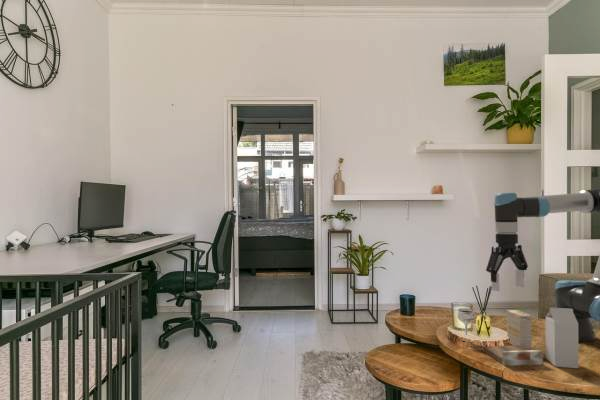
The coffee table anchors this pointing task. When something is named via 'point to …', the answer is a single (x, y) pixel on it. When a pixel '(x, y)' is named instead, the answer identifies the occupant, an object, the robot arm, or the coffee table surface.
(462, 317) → the wineglass
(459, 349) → the coffee table surface
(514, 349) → the grey flat box
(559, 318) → the milk carton
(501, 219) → the robot arm
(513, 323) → the supplement box
